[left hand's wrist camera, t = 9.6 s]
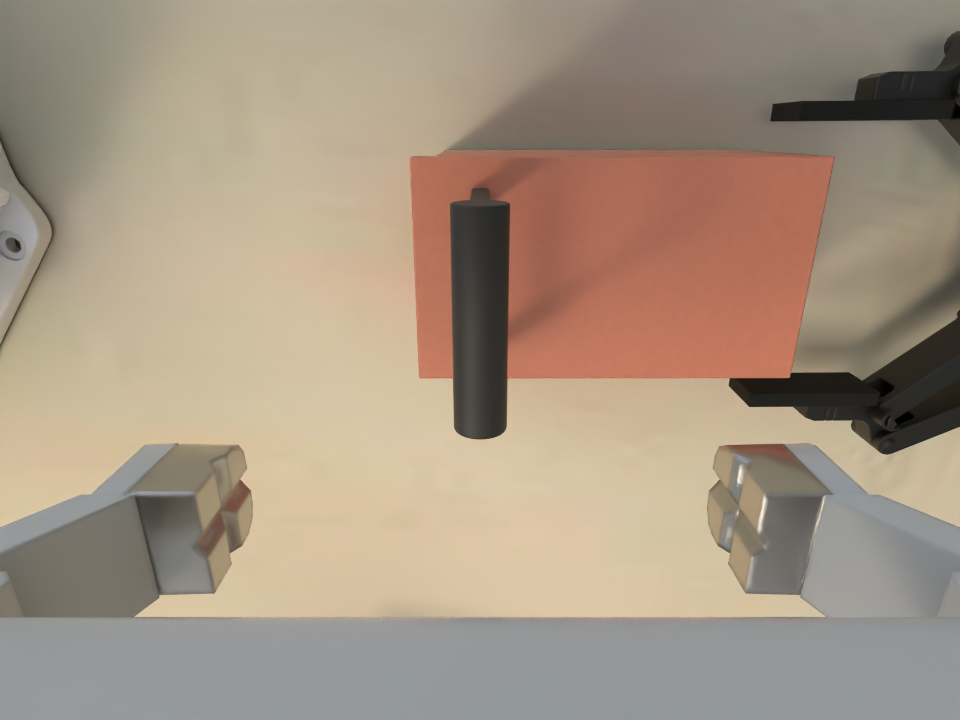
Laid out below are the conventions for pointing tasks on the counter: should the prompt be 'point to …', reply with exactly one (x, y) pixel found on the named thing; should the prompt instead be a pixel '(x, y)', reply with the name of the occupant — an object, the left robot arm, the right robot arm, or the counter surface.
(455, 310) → the lid
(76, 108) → the counter surface
